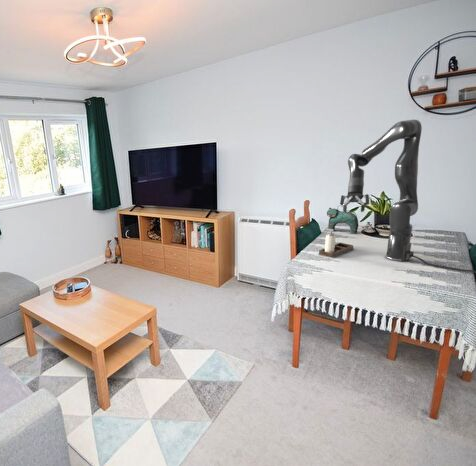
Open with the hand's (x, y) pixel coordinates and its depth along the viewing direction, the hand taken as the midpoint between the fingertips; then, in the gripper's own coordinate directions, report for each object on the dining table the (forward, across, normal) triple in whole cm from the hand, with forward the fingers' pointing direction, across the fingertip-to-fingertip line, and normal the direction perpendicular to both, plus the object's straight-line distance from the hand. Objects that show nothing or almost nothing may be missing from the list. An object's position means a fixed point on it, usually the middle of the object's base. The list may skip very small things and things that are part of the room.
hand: (353, 211), depth 189 cm
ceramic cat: (+6, -18, +45) cm, 49 cm away
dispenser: (+28, -9, -6) cm, 30 cm away
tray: (+26, -7, 0) cm, 27 cm away
